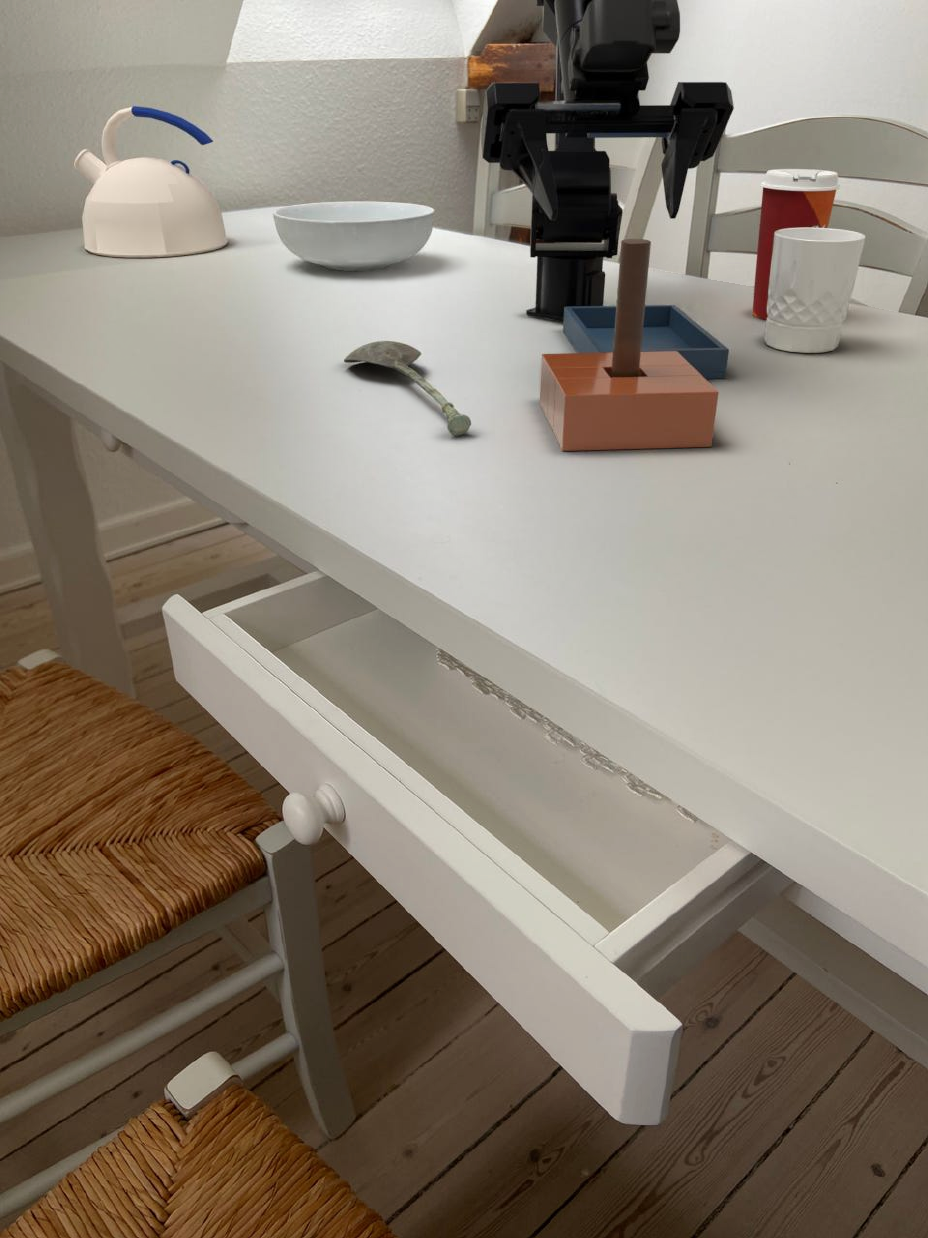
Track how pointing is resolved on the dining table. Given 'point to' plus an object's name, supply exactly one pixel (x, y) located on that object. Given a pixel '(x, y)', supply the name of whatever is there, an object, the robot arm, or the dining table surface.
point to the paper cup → (789, 216)
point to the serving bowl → (354, 232)
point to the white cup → (810, 287)
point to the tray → (648, 335)
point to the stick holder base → (626, 402)
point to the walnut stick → (630, 307)
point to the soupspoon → (399, 359)
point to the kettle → (147, 199)
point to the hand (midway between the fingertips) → (614, 215)
